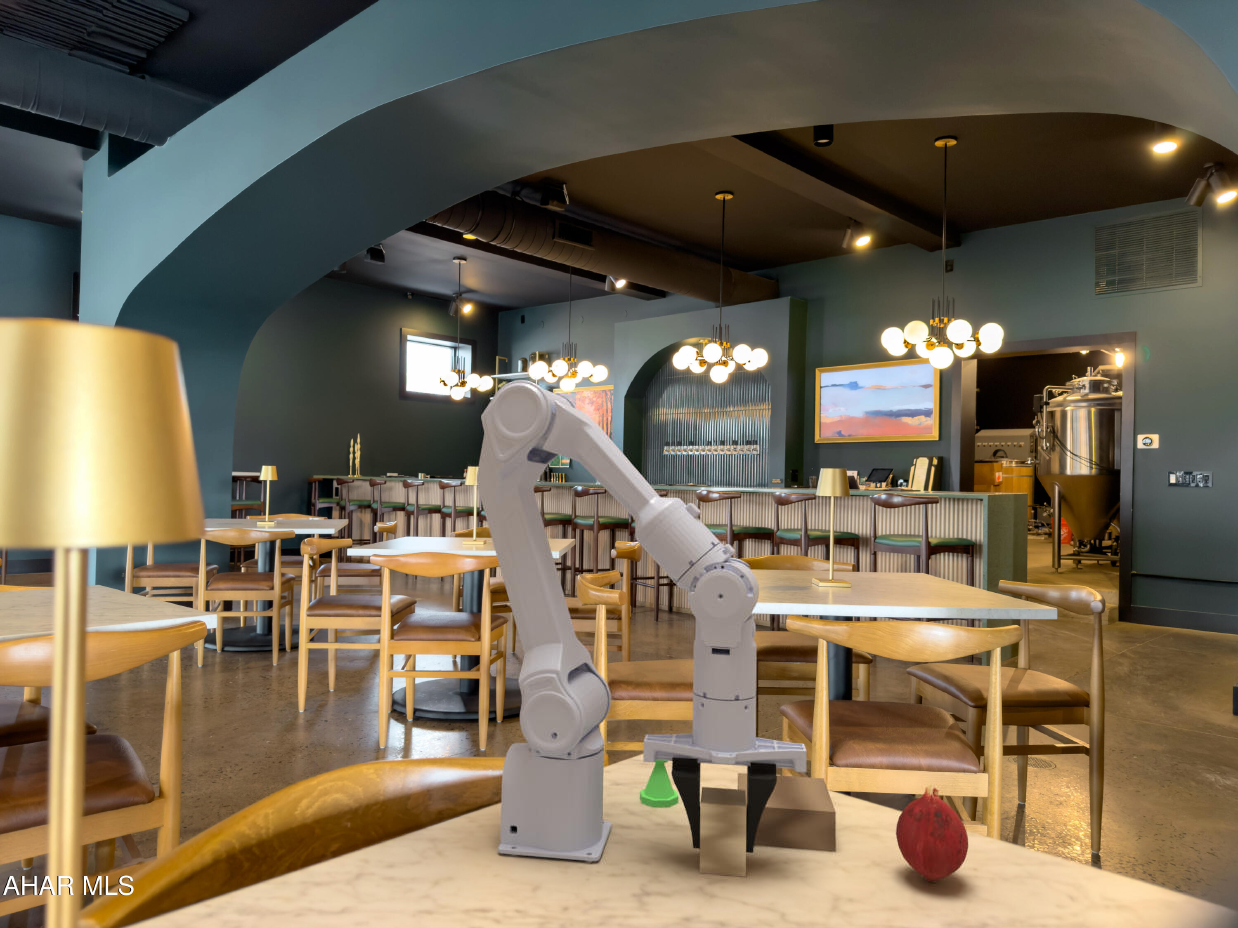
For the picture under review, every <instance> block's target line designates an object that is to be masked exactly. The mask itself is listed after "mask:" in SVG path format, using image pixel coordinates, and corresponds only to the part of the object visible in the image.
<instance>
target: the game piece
mask: <svg viewBox="0 0 1238 928" xmlns="http://www.w3.org/2000/svg"><path fill="white" fill-rule="evenodd" d="M668 762H669V761H663V760H656V761H655V762H654V763H655V764H654V767H653V769H652V771H651V773H650V775H649V778H648V780H647V783H646V786H645V788H644V789H641V790H639V791H640V792H639V794H640V795H639V796H640V797H639V799H640V801H641V804H642V805H645V806H647V807H650V808H654V809H656V808H657V809H658V808H661V809H662V808H663V809H664V808H665V809H666V808H672V807H673V806H675V805H677V804H679V795H678V791H677V789H674V788H673V786H672V782H671V779H670V777H669V774H668V771H667V767H666V763H668Z"/></svg>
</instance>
